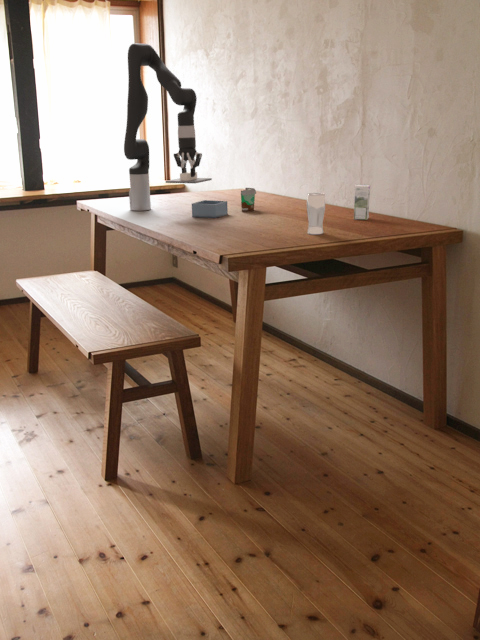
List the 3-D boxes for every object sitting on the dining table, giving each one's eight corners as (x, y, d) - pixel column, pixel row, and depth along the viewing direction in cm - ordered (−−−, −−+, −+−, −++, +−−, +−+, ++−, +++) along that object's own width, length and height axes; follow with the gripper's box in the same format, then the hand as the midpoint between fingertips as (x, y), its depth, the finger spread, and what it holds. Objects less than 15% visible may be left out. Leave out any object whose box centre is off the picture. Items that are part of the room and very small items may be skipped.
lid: (165, 182, 282) (165, 174, 281) (183, 179, 295) (182, 171, 294) (195, 183, 276) (194, 174, 275) (211, 180, 289) (211, 171, 287)
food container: (253, 212, 298) (253, 190, 295) (241, 212, 299) (240, 190, 296) (258, 208, 309) (258, 187, 306) (246, 208, 310) (245, 187, 307)
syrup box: (368, 218, 276) (370, 184, 272) (366, 220, 271) (368, 185, 267) (355, 217, 278) (356, 183, 274) (353, 219, 273) (354, 185, 268)
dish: (192, 216, 289) (191, 203, 287) (204, 213, 299) (204, 200, 297) (215, 218, 284) (215, 204, 282) (227, 214, 294) (227, 201, 292)
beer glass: (304, 232, 248) (305, 193, 244) (322, 231, 249) (323, 192, 244) (308, 235, 242) (308, 195, 237) (326, 234, 242) (327, 194, 237)
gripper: (168, 137, 279) (170, 177, 285) (196, 136, 273) (198, 177, 279) (177, 136, 286) (179, 175, 291) (204, 136, 280) (206, 176, 285)
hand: (188, 176), depth 285 cm, fingers closed on lid, 3 cm apart
